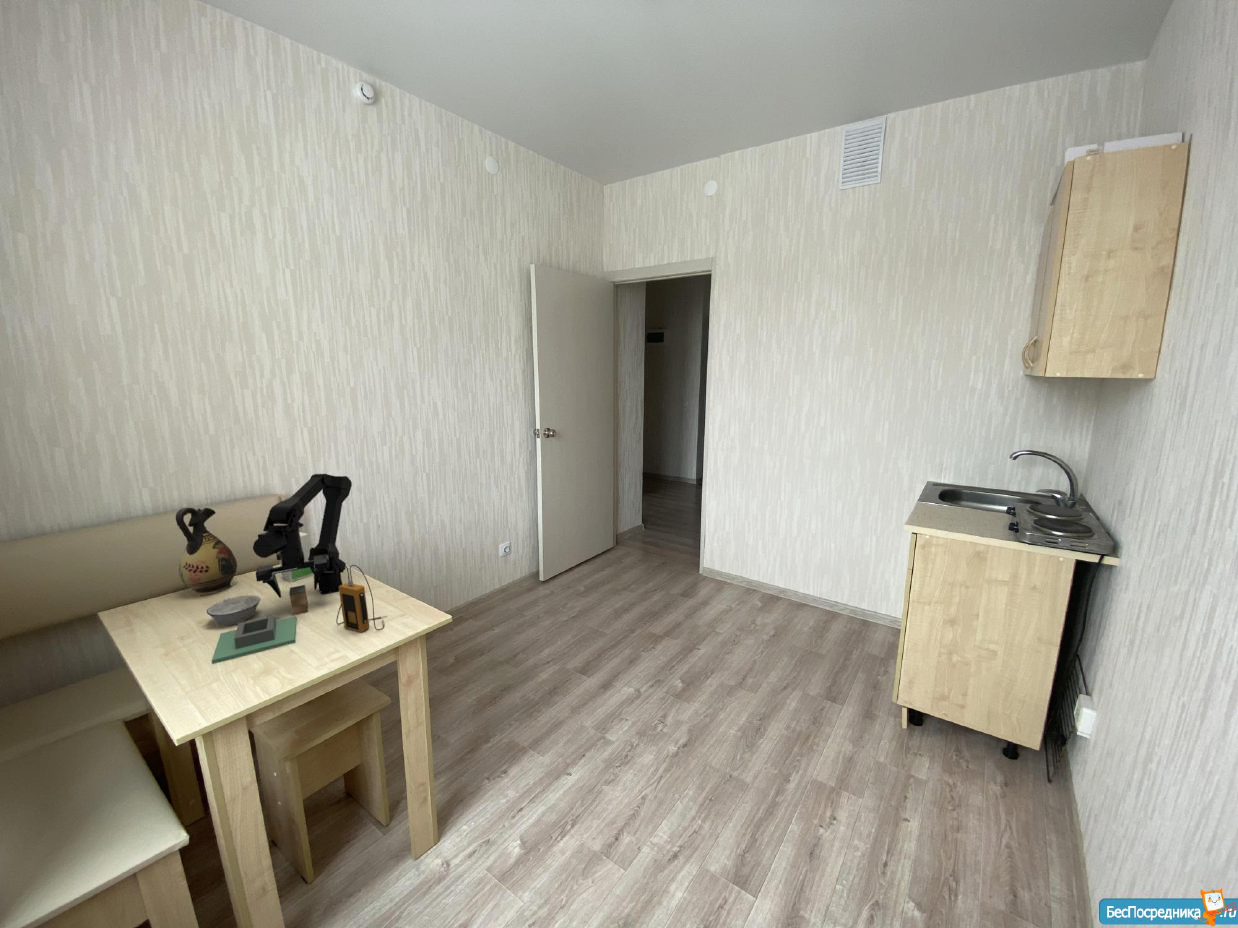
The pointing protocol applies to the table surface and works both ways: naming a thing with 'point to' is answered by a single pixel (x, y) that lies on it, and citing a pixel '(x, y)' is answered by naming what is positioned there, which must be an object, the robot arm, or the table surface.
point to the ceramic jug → (204, 555)
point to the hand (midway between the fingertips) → (298, 593)
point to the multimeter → (355, 605)
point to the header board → (255, 637)
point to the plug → (298, 600)
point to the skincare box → (304, 572)
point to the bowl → (234, 609)
